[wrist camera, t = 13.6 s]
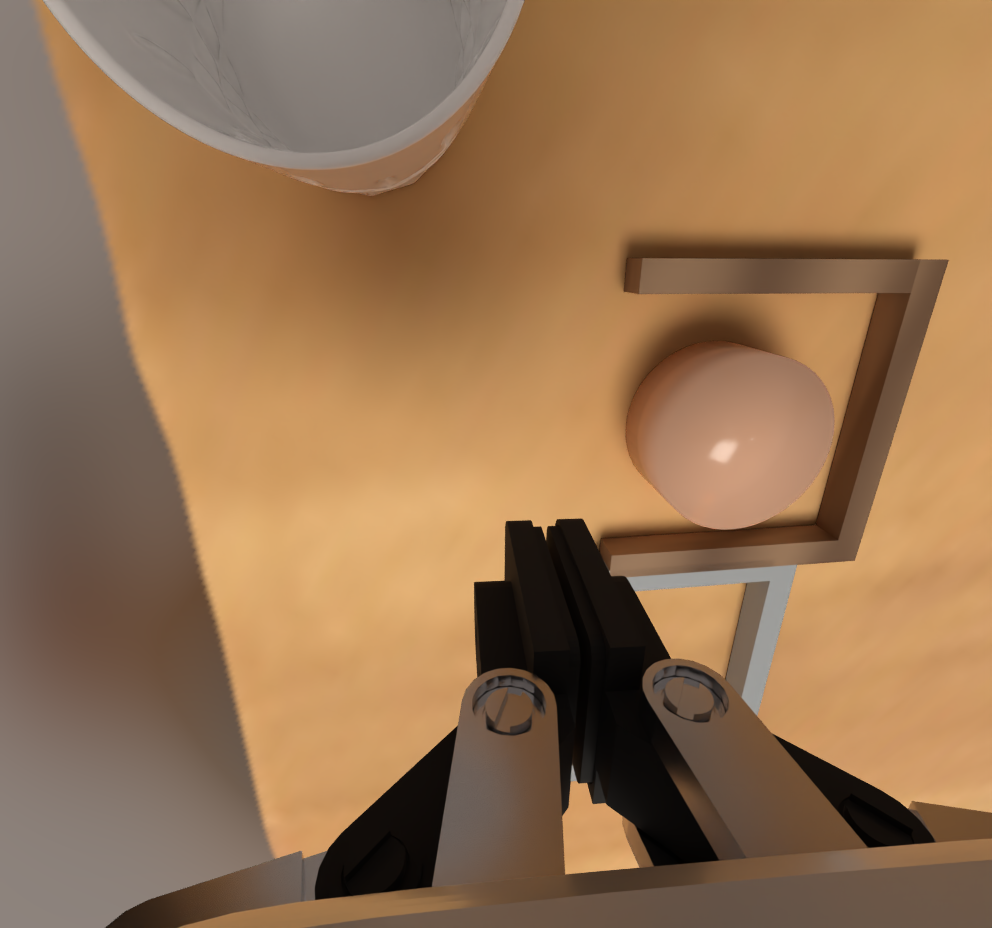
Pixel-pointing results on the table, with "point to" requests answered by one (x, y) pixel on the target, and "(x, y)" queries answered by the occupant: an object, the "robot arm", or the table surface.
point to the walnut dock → (867, 420)
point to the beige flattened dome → (730, 432)
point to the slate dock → (741, 619)
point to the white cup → (303, 77)
